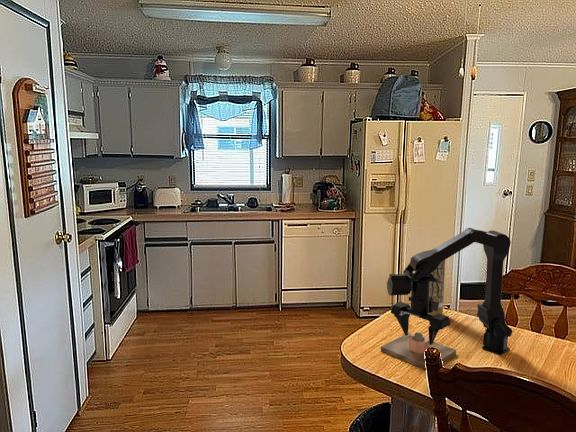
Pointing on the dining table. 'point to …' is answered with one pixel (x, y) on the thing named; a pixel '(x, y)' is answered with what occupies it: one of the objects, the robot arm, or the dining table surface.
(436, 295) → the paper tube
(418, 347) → the spool ring
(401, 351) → the board
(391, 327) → the dining table surface
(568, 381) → the dining table surface
